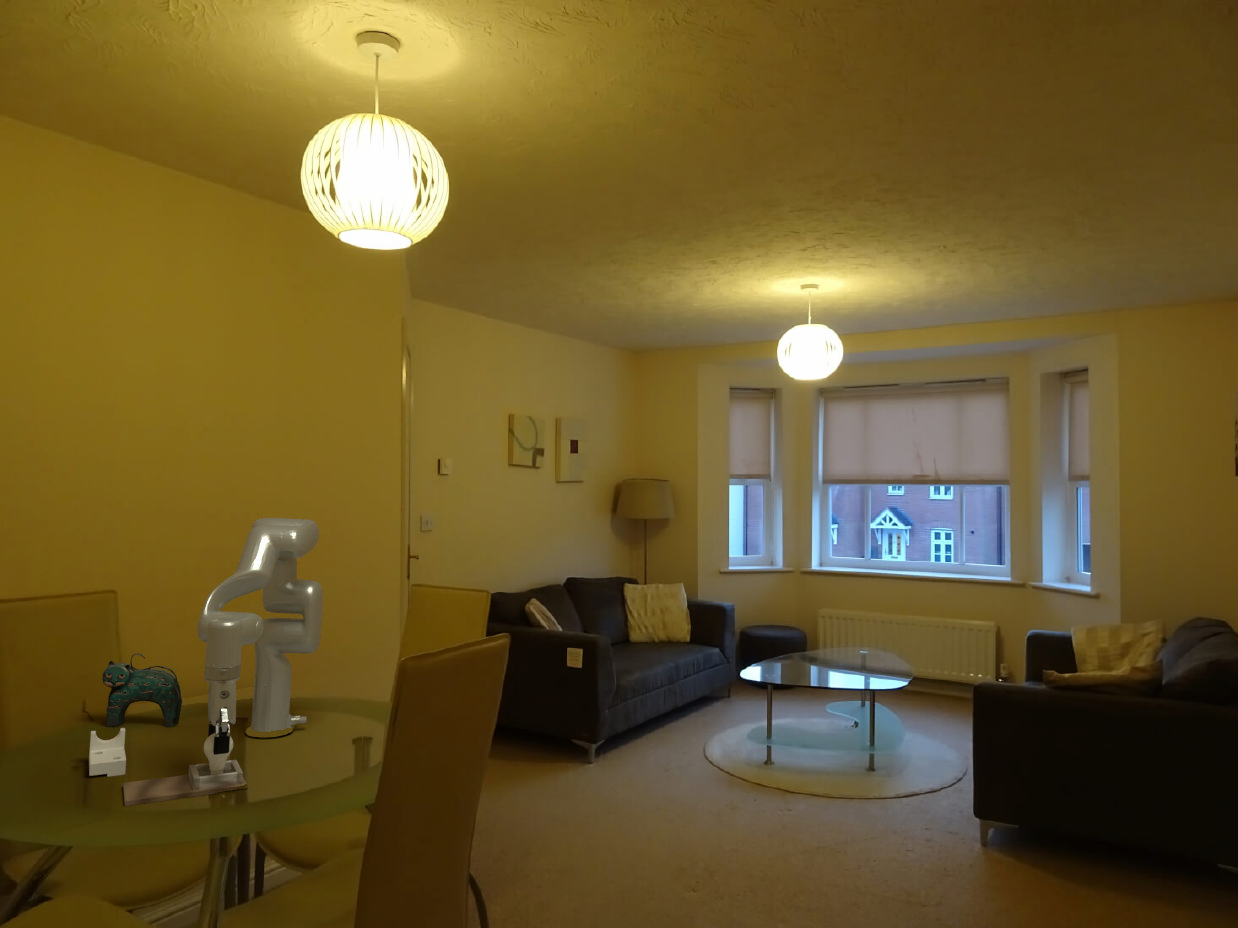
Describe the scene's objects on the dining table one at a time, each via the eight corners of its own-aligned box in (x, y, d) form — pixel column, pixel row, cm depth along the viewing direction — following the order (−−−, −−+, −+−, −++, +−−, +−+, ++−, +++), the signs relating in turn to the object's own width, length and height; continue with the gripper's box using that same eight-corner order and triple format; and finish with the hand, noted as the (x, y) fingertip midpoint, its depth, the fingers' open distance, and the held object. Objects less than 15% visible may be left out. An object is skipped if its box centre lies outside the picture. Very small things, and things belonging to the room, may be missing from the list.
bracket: (88, 762, 201) (90, 731, 201) (122, 758, 205) (124, 727, 205) (89, 779, 190) (91, 746, 190) (125, 775, 194) (127, 742, 194)
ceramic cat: (97, 728, 227) (102, 654, 227) (108, 721, 233) (113, 649, 234) (175, 728, 230) (180, 656, 230) (183, 722, 236) (188, 651, 237)
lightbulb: (219, 786, 186) (222, 736, 187) (195, 784, 187) (198, 734, 188) (236, 778, 192) (239, 730, 193) (213, 776, 193) (216, 728, 194)
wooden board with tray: (239, 772, 199) (240, 757, 199) (247, 789, 189) (248, 773, 189) (122, 787, 186) (124, 771, 186) (124, 805, 176) (126, 789, 176)
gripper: (246, 680, 186) (241, 756, 186) (234, 662, 201) (230, 733, 201) (209, 683, 182) (204, 761, 182) (200, 665, 197) (195, 737, 197)
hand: (218, 746), depth 192 cm, fingers open, 9 cm apart
